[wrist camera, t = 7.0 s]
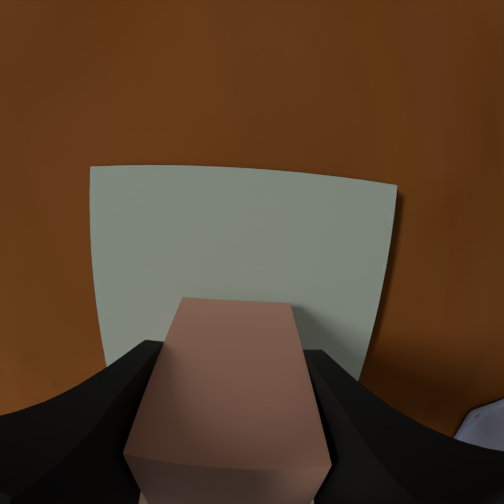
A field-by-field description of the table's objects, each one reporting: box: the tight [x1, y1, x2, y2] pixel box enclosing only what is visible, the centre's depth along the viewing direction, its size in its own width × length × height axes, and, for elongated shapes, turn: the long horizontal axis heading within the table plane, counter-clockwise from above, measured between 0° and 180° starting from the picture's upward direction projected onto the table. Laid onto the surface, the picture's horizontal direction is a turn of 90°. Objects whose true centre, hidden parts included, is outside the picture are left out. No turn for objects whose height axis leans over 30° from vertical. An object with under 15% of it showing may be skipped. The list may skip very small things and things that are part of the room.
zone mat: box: [90, 165, 397, 381], centre depth 12 cm, size 12×12×1 cm
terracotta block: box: [123, 297, 332, 504], centre depth 8 cm, size 4×4×7 cm
